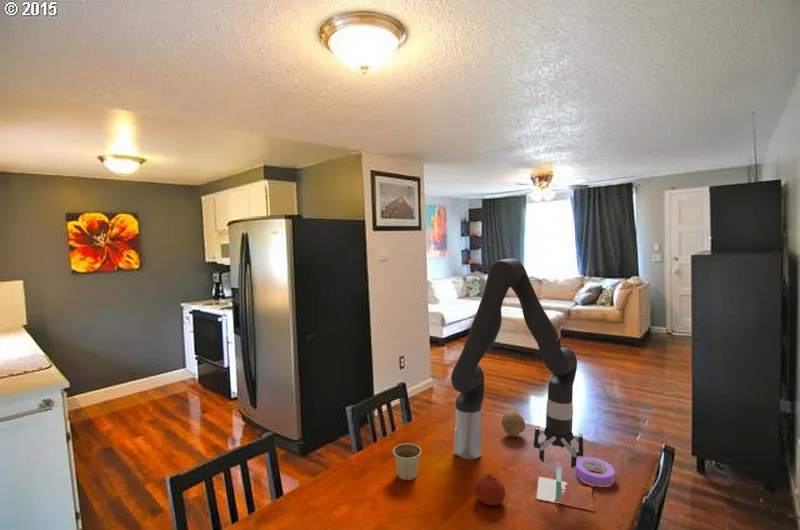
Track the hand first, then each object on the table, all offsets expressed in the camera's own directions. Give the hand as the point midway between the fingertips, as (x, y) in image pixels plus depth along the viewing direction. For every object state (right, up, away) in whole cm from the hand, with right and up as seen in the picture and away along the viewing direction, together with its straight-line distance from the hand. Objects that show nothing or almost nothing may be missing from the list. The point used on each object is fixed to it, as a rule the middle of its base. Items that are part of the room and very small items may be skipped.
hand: (557, 463), depth 126 cm
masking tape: (+15, -9, +8) cm, 20 cm away
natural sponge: (-3, -7, +36) cm, 37 cm away
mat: (+2, -9, 0) cm, 9 cm away
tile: (0, -9, -1) cm, 9 cm away
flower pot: (-46, -9, +10) cm, 48 cm away
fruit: (-22, -10, -4) cm, 24 cm away
